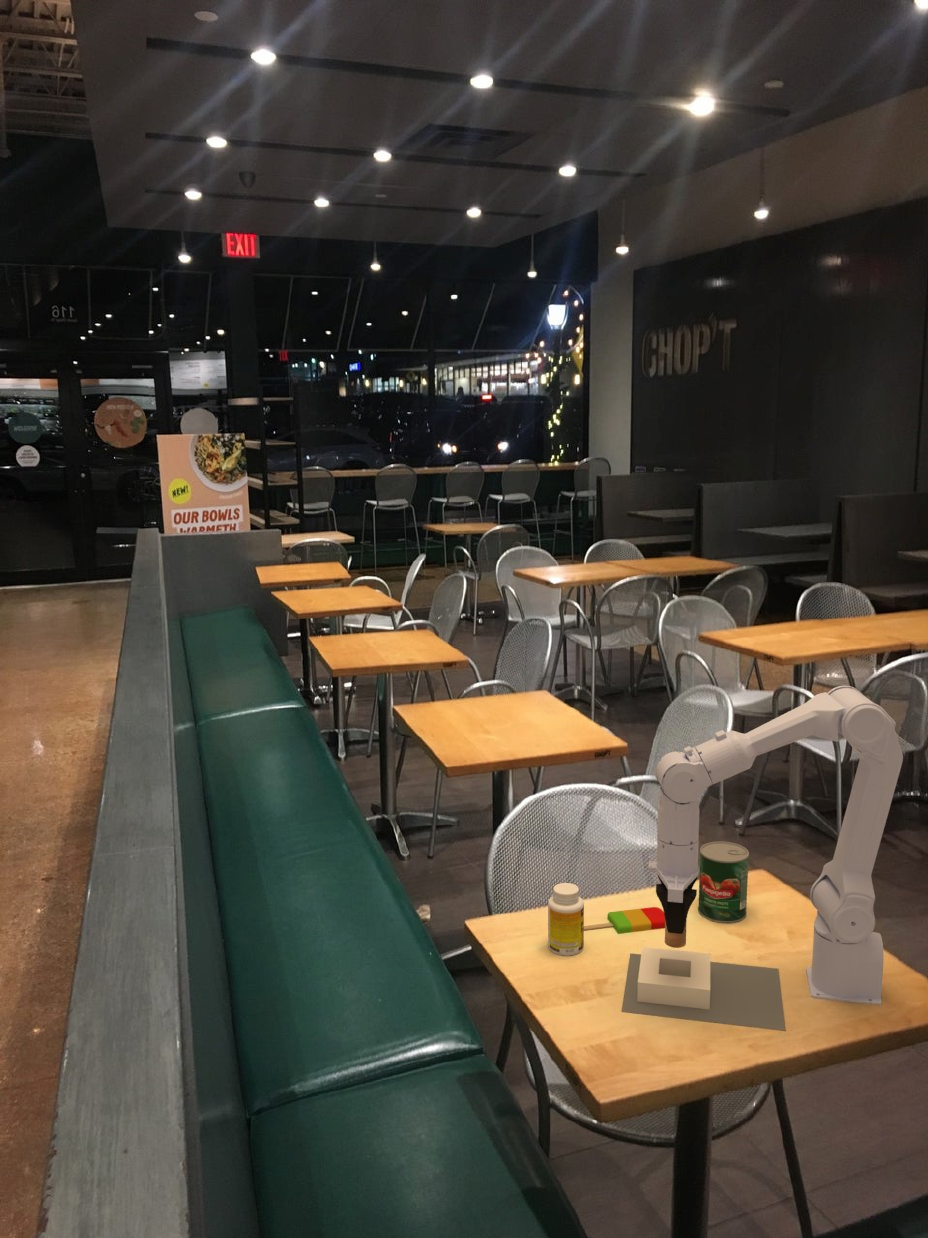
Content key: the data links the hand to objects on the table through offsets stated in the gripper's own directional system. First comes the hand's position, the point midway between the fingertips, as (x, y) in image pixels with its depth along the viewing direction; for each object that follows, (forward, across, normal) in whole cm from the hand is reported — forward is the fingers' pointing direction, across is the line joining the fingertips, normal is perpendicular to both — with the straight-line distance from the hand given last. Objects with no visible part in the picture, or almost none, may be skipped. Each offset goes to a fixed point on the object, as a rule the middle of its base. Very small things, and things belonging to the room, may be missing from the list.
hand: (675, 926), depth 145 cm
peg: (+3, 0, 0) cm, 3 cm away
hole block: (+10, 0, 0) cm, 10 cm away
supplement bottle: (+10, -8, -17) cm, 21 cm away
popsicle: (+10, -17, -9) cm, 22 cm away
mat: (+10, 0, +4) cm, 11 cm away
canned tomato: (+10, -25, +7) cm, 28 cm away
